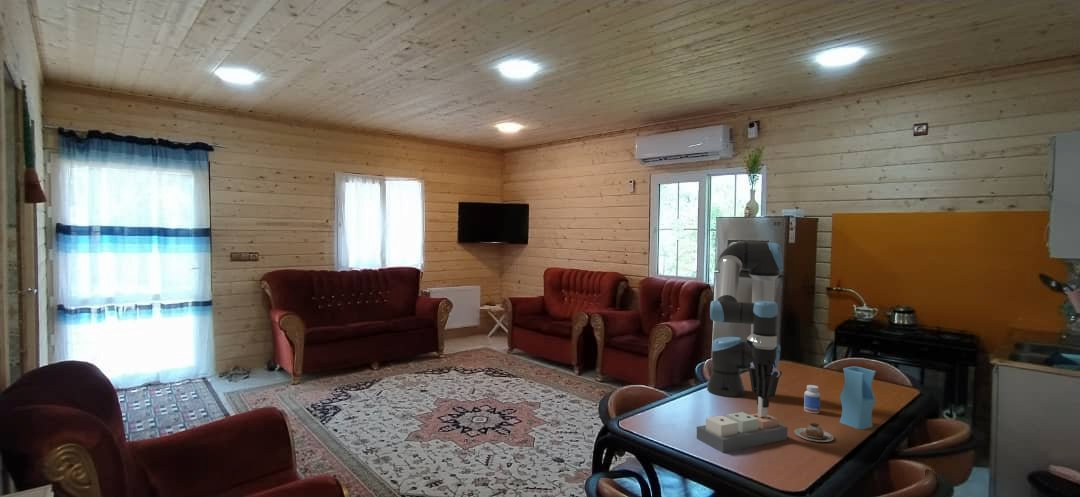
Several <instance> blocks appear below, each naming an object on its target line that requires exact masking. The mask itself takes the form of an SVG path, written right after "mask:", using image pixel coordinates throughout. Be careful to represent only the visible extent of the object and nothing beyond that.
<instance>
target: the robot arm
mask: <svg viewBox="0 0 1080 497" xmlns="http://www.w3.org/2000/svg"><path fill="white" fill-rule="evenodd" d="M717 268H718V270H719V276H718V286H717V295H716V300H712V301H710V306H709V318H710V320H711V321H712V322H719V323H731V324H732V323H733V324H734V323H735V324H745V325H746V324H747V325H750V334H749V336H747V337H746V341H742V338H741V337H739V336H738V337H737V336H722V337H717V338H715V339H714V340H712V341H713V342H712V347H711V351H712V352H711V353H712V356H711V357H712V359H711V361H712V362H711V374H710V377H709V380H708V382H707V386H706V387H707V388H706V389H707V391H708V392H709V393H711V394H712V395H713V394H714V395H718V396H722V397H728V398H729V397H734V398H735V397H741V396H744V394H745V387H744V384H743V380H742V376H741V370H748V373H749V380H750V386H751V392H752V393H753V394H755V395H756V405H757V413H758V416H760V417H765V416H767V415H768V408H769V406H770V399H771V398H775V397H776V392H777V388H778V383H779V380H780V377H781V376H782V373H783V372H782V371H781V370H778V367H779V362H780V356H781V344H779V343H778V314H779V310H778V309H779V308H778V307H779V306H778V303H777V302H775V290H776V288H775V284H776V283H775V281H776V279H777V278H778V277H779V276H780V272H783V271H784V263H783V254H782V248H781V245H780V244H779V243H777V242H768V241H767V242H759V241H757V242H753V241H751V242H750V241H749V242H746V241H740V242H736V243H732V244H731V245H729V246H728V247H726V248H725V249H724V250H723V251H722V252H721V254H720V255H719V257H718V260H717ZM743 270H744V271H748V275H749V276H750V277H751V279H752V281H751V282H752V286H751V302H741V301H739V293H740V292H739V290H740V273H741V271H743Z"/></svg>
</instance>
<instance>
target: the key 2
mask: <svg viewBox="0 0 1080 497" xmlns="http://www.w3.org/2000/svg"><path fill="white" fill-rule="evenodd" d="M726 417H727V418H729V419H731V420H734V421H736V422H738V431H739V432H742V433H744V432H750V431H755V430H758V425H759V419H758V418H756V417H753V416H751V414H748V413H747V412H744V411H739V412H735V413H733V412H732V413H729V414H726Z"/></svg>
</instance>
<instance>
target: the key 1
mask: <svg viewBox="0 0 1080 497" xmlns="http://www.w3.org/2000/svg"><path fill="white" fill-rule="evenodd" d="M705 425H706V430H708V431H710V432H712V433H714V434H716V435H718V436H720V437H724V436H729V435H734V434H738V422H736V421H734V420H731V419H729V418H727V416H725V415H717V416H712V417H706V418H705Z"/></svg>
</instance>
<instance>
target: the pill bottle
mask: <svg viewBox="0 0 1080 497" xmlns="http://www.w3.org/2000/svg"><path fill="white" fill-rule="evenodd" d="M803 398H804V399H803V400H804V403H803V410H804V412H806V413H809V414H819V413H820V411H821V409H820V408H821V393H820V392H819V386H818V385H813V384H807V385H806V390H805V391H804V397H803Z"/></svg>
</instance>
